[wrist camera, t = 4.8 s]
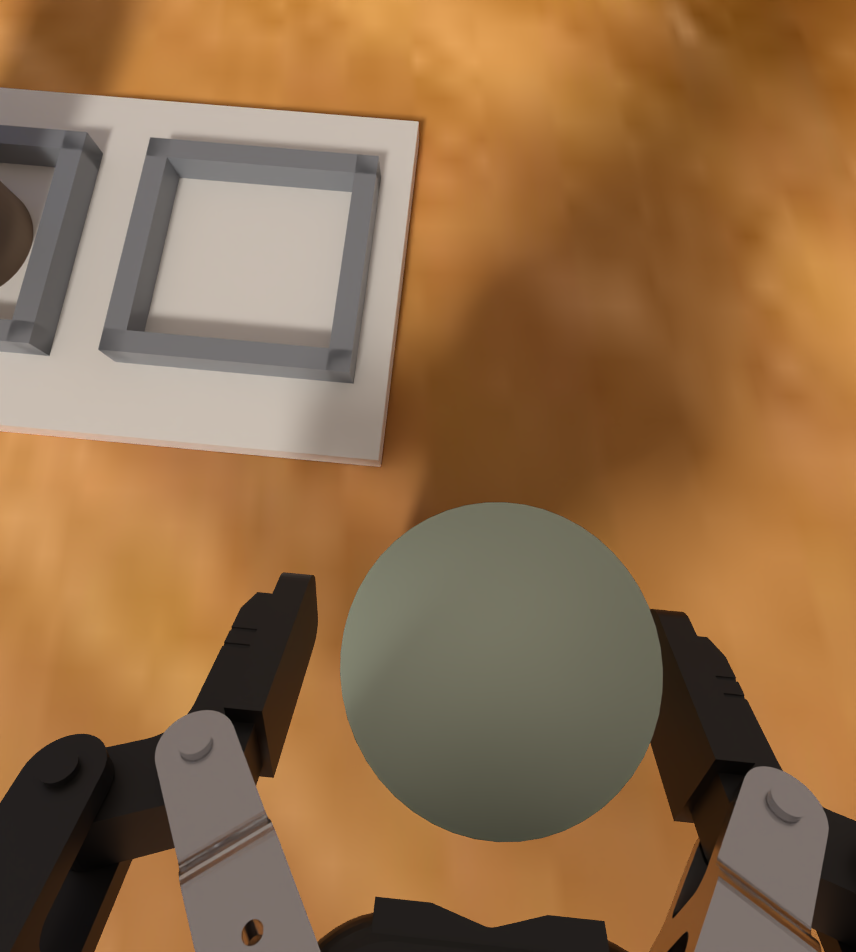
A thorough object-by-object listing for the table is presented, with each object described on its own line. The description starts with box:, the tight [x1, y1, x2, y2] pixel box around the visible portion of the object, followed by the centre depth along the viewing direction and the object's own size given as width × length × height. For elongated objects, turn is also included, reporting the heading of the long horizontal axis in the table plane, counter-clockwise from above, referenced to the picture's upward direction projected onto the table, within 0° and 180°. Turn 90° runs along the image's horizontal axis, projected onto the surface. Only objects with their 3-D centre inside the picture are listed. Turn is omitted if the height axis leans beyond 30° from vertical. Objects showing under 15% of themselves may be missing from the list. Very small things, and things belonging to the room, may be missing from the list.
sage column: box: [340, 502, 663, 842], centre depth 13 cm, size 5×5×10 cm
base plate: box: [0, 88, 419, 467], centre depth 20 cm, size 22×14×2 cm, turn 85°
